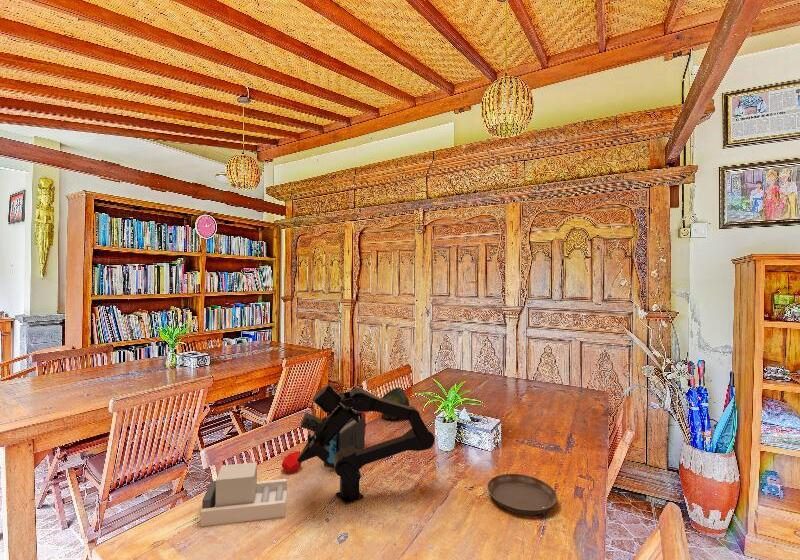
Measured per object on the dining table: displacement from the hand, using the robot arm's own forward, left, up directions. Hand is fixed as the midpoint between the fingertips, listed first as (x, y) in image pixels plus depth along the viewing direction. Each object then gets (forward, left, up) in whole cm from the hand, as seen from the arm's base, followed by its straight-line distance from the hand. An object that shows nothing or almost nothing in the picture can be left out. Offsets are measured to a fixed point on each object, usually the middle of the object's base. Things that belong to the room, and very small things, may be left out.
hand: (298, 461), depth 123 cm
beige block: (+7, +16, -9) cm, 19 cm away
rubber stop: (+10, +22, -11) cm, 27 cm away
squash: (+42, -69, -13) cm, 82 cm away
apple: (+20, -7, -13) cm, 25 cm away
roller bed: (+6, +13, -12) cm, 19 cm away
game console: (+19, -28, -13) cm, 36 cm away
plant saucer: (-40, -56, -13) cm, 70 cm away
